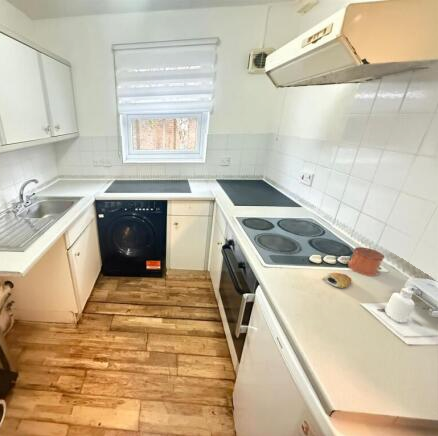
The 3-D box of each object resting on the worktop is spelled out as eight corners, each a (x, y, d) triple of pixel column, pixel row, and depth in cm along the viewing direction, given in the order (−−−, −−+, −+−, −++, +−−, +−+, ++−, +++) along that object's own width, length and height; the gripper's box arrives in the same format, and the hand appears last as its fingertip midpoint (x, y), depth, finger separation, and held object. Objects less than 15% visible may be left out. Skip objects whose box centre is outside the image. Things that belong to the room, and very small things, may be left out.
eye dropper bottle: (400, 313, 78) (417, 284, 74) (406, 325, 74) (423, 294, 69) (383, 308, 81) (397, 279, 76) (387, 319, 76) (403, 289, 72)
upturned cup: (372, 265, 104) (379, 250, 101) (381, 278, 96) (389, 261, 93) (345, 260, 108) (351, 245, 105) (351, 272, 100) (357, 255, 97)
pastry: (338, 275, 98) (341, 267, 96) (355, 285, 92) (359, 277, 90) (321, 280, 95) (324, 272, 93) (339, 290, 89) (342, 282, 88)
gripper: (501, 340, 65) (445, 336, 66) (428, 290, 84) (385, 288, 85) (515, 323, 62) (457, 319, 64) (437, 276, 81) (393, 273, 83)
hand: (415, 301), depth 75 cm, fingers open, 8 cm apart
